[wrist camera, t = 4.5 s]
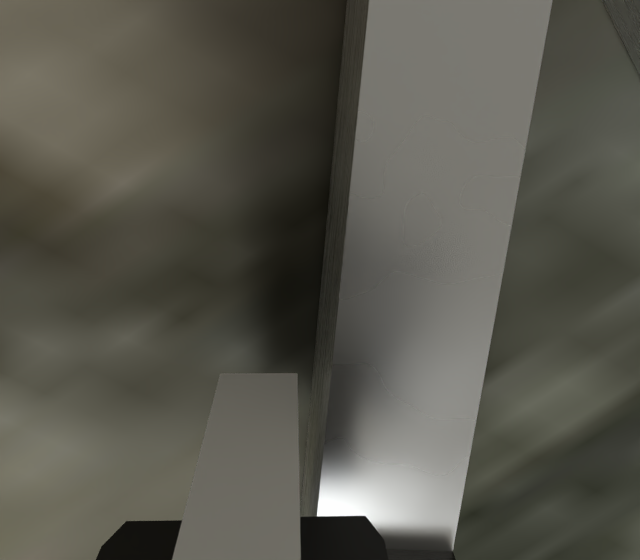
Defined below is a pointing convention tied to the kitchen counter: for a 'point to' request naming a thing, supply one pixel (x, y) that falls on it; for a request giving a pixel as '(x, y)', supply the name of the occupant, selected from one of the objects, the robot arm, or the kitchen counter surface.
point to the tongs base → (627, 25)
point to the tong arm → (416, 256)
